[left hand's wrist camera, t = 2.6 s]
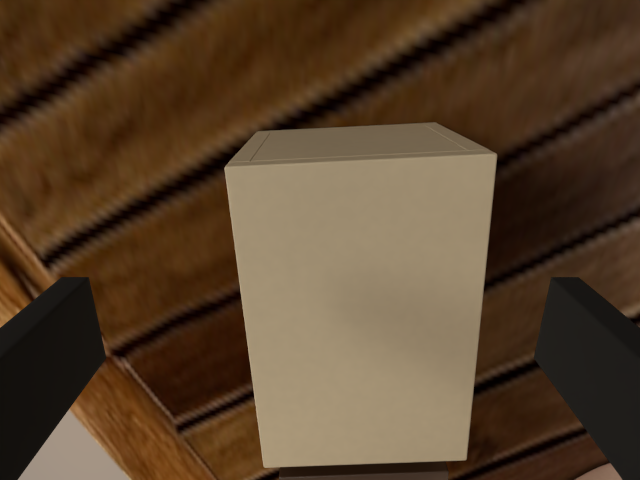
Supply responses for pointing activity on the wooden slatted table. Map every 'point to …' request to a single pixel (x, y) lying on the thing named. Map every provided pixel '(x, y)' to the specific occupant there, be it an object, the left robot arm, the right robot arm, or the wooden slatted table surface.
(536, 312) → the wooden slatted table surface
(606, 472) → the anatomical model
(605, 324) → the left robot arm
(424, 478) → the drawer
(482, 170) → the cabinet
